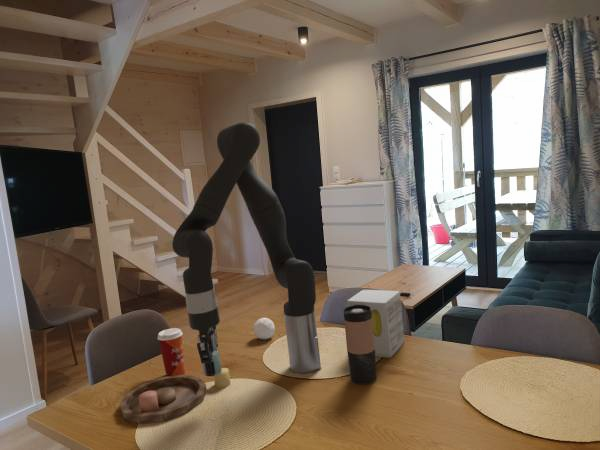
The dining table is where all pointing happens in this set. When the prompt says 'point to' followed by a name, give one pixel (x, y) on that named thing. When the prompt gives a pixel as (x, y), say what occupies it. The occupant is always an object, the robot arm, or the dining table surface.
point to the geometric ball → (264, 328)
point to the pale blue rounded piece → (216, 363)
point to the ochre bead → (222, 378)
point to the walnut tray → (177, 408)
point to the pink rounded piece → (148, 402)
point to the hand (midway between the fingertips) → (212, 370)
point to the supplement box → (383, 319)
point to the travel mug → (360, 344)
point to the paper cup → (172, 351)
